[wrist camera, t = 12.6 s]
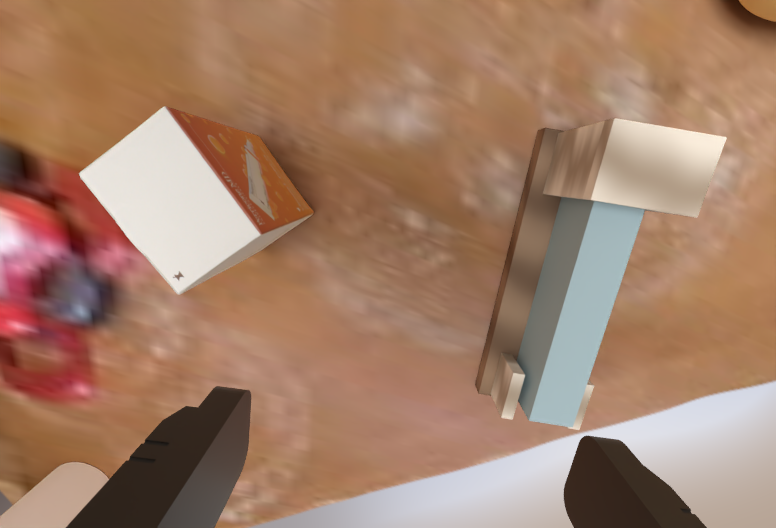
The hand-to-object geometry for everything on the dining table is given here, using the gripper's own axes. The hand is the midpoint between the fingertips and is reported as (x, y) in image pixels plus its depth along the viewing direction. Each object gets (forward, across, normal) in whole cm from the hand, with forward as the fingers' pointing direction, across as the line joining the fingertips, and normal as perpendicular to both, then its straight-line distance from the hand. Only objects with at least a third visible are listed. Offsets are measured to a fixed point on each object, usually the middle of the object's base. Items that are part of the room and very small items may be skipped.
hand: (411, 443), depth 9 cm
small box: (+25, +12, -2) cm, 28 cm away
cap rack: (+24, -15, +1) cm, 28 cm away
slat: (+23, -14, +2) cm, 27 cm away
